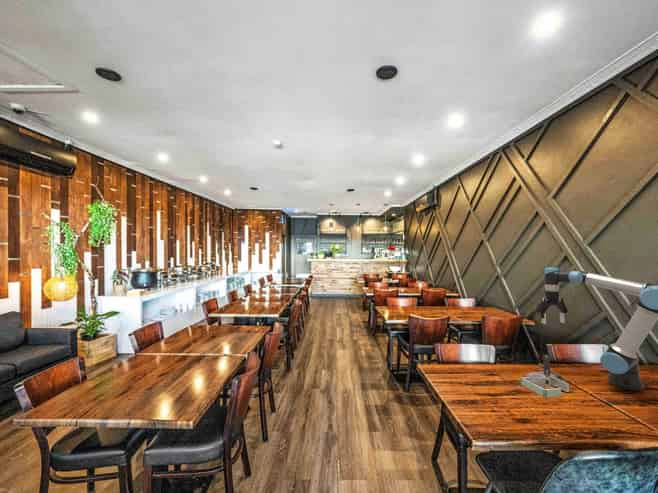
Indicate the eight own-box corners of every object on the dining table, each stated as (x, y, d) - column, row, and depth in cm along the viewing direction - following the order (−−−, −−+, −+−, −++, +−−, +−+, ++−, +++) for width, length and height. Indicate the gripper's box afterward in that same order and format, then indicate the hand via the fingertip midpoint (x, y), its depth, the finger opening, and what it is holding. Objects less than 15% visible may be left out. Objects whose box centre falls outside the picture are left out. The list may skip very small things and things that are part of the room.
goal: (535, 383, 179) (535, 376, 180) (561, 396, 162) (561, 389, 162) (520, 384, 178) (520, 377, 178) (544, 397, 161) (544, 390, 161)
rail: (555, 378, 186) (555, 373, 187) (563, 381, 181) (562, 376, 181) (523, 380, 184) (522, 375, 184) (529, 383, 179) (529, 378, 179)
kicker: (546, 377, 187) (545, 353, 188) (576, 391, 167) (575, 364, 168) (537, 377, 186) (537, 353, 187) (566, 392, 167) (565, 365, 167)
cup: (548, 387, 174) (547, 373, 174) (554, 393, 166) (553, 379, 166) (527, 385, 177) (526, 371, 177) (532, 391, 169) (531, 377, 169)
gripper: (563, 289, 202) (564, 321, 201) (530, 290, 199) (531, 322, 198) (574, 291, 194) (575, 323, 194) (539, 291, 191) (540, 324, 191)
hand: (553, 323), depth 196 cm, fingers open, 13 cm apart
